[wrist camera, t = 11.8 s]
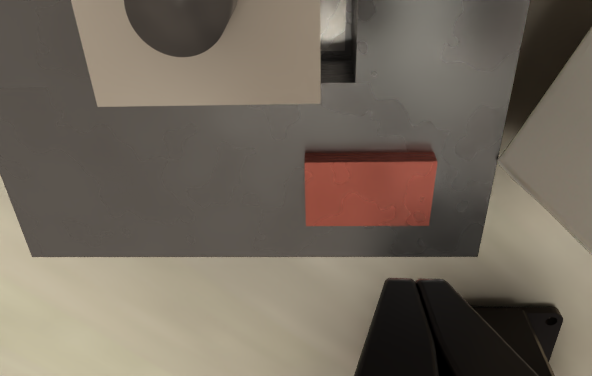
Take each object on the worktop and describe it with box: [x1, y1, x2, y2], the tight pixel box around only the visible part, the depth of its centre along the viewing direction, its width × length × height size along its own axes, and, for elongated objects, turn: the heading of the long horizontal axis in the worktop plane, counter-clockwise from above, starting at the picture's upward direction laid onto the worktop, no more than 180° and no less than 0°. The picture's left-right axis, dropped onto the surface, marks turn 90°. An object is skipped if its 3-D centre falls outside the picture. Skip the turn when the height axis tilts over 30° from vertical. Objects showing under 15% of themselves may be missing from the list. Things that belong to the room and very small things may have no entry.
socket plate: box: [0, 0, 530, 257], centre depth 16 cm, size 16×16×4 cm
